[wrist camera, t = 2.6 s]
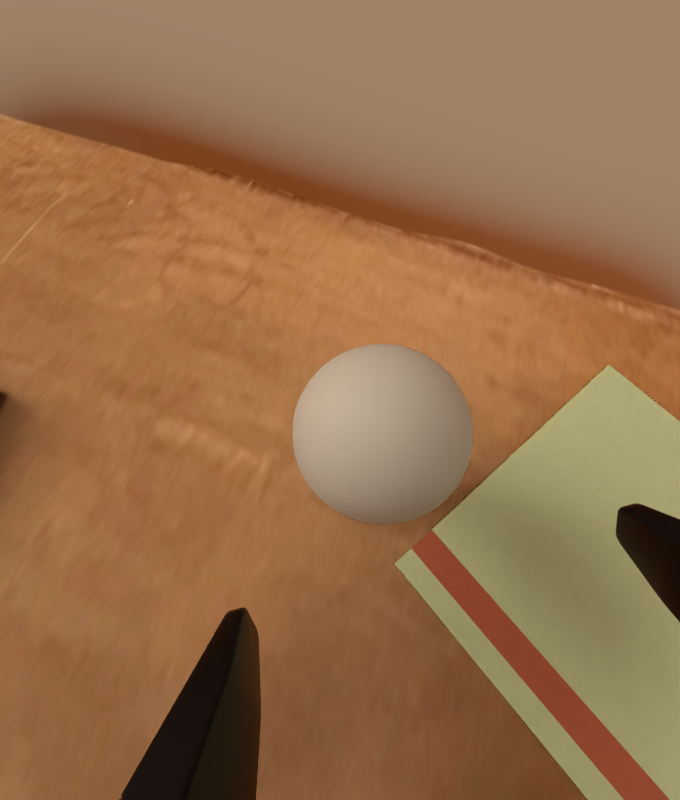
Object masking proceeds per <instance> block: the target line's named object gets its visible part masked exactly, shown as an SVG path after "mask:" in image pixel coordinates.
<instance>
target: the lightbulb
mask: <svg viewBox="0 0 680 800" xmlns="http://www.w3.org/2000/svg"><path fill="white" fill-rule="evenodd" d="M292 434H293V448H294V453H295V457H296V461H297V464H298V467H299V469H300V471H301V473H302V475H303V477H304V479H305V481H306V483H307V484H308V486H309V487H310V488H311V489H312V490H313V492H314V493H315V494H316V495H317V497H318V498H320V499H321V500H322V501H323V502H324V503H326V504H327V505H328V506H329V507H330V508H332V509H333V510H335V511H337V512H339V513H340V514H342V515H344V516H346V517H348V518H350V519H353V520H357V521H360V522H364V523H367V524H379V525H389V524H398V523H404V522H407V521H410V520H413V519H416V518H419V517H422V516H424V515H425V514H427V513H429V512H430V511H432V510H434V509H435V508H437V507H439V506H440V505H441V504H442V503H443V502H444V501H445V500H446V499H447V498H448V497H449V496H450V495H452V493H453V492H454V491H455V489H456V488H457V486H458V485H459V483H460V482H461V480H462V479H463V477H464V474H465V472H466V469H467V467H468V465H469V462H470V456H471V451H472V446H473V422H472V418H471V414H470V409H469V406H468V404H467V402H466V399H465V397H464V395H463V393H462V391H461V389H460V387H459V386H458V384H457V383H456V382H455V380H454V379H453V378H452V376H451V375H450V374H449V373H448V372H447V371H446V370H445V369H444V368H443V367H442V366H441V365H440V364H439V363H437V362H436V361H434V360H433V359H431V358H430V357H428V356H427V355H425V354H423V353H420V352H418V351H416V350H413V349H411V348H407V347H403V346H398V345H394V344H373V345H366V346H360V347H357V348H354V349H351V350H348V351H346V352H344V353H342V354H340V355H338V356H336V357H334V358H333V359H331V360H330V361H329V362H328V363H326V364H325V365H324V366H323V367H321V368H320V369H319V370H318V372H317V373H316V374H315V375H314V376H313V377H312V379H311V380H310V381H309V382H308V384H307V386H306V387H305V389H304V391H303V393H302V394H301V396H300V398H299V401H298V404H297V407H296V410H295V413H294V421H293V429H292Z"/></svg>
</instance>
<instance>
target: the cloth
mask: <svg viewBox="0 0 680 800" xmlns="http://www.w3.org/2000/svg"><path fill="white" fill-rule="evenodd" d="M635 503H638V504H642V505H645V506H647V507H650V508H652V509H655V510H657V511H660V512H662V513H665V514H668V515H670V516H673V517H675V518H678V519H680V421H679V420H677V419H676V418H675V417H674V416H672V415H671V414H670V413H669V412H667V411H666V410H665V409H664V408H663V407H661V406H660V405H659V404H658V403H656V402H655V401H654V400H653V399H651V398H650V397H649V396H648V395H646V394H645V393H644V392H643V391H641V390H640V389H639V388H638V387H636V386H635V385H634V384H633V383H631V382H630V381H629V380H628V379H626V378H625V377H624V376H623V375H621V374H620V373H619V372H618V371H616V370H615V369H614V368H613V367H611V366H610V365H608V366H607V367H605V368H604V369H603V370H602V371H601V372H600V373H599V374H598V375H597V376H596V377H595V378H594V379H593V380H591V381H590V382H589V383H588V384H587V385H586V386H585V387H584V388H583V389H582V390H581V391H580V392H579V393H577V394H576V395H575V396H574V397H573V398H572V399H571V400H570V401H569V402H568V403H567V404H566V405H565V406H564V407H562V408H561V409H560V410H559V411H558V412H557V413H556V414H555V415H554V416H553V417H552V418H551V419H550V420H548V421H547V422H546V423H545V424H544V425H543V426H542V427H541V428H540V429H539V430H538V431H537V432H536V433H534V434H533V435H532V436H531V437H530V438H529V439H528V440H527V441H526V442H525V443H524V444H523V445H522V446H520V447H519V448H518V449H517V450H516V451H515V452H514V453H513V454H512V455H511V456H510V457H509V458H508V459H506V460H505V461H504V462H503V463H502V464H501V465H500V466H499V467H498V468H497V469H496V470H495V471H494V472H492V473H491V474H490V475H489V476H488V477H487V478H486V479H485V480H484V481H483V482H482V483H481V484H480V485H479V486H477V487H476V488H475V489H474V490H473V491H472V492H471V493H470V494H469V495H468V496H467V497H466V498H465V499H463V500H462V501H461V502H460V503H459V504H458V505H457V506H456V507H455V508H454V509H453V510H452V511H451V512H449V513H448V514H447V515H446V516H445V517H444V518H443V519H442V520H441V521H440V522H439V523H438V524H437V525H435V526H434V527H433V528H432V529H431V530H430V531H429V532H428V533H427V534H426V535H425V536H424V537H423V538H421V539H420V540H419V541H418V542H417V543H416V544H415V545H414V546H413V547H412V548H411V549H410V550H409V551H407V552H406V553H405V554H404V555H403V556H402V557H401V558H400V559H399V560H398V561H397V562H396V563H395V565H396V566H397V567H398V569H399V570H400V571H401V572H402V573H403V575H404V576H405V577H406V578H407V580H408V581H409V582H410V583H411V584H412V586H413V587H414V588H415V589H416V590H417V592H418V593H419V594H420V595H421V597H422V598H423V599H424V600H425V601H426V603H427V604H428V605H429V606H430V608H431V609H432V610H433V611H434V612H435V614H436V615H437V616H438V617H439V619H440V620H441V621H442V622H443V623H444V625H445V626H446V627H447V628H448V630H449V631H450V632H451V633H452V634H453V636H454V637H455V638H456V639H457V641H458V642H459V643H460V644H461V645H462V647H463V648H464V649H465V650H466V652H467V653H468V654H469V655H470V656H471V658H472V659H473V660H474V661H475V663H476V664H477V665H478V666H479V667H480V669H481V670H482V671H483V672H484V674H485V675H486V676H487V677H488V678H489V680H490V681H491V682H492V683H493V685H494V686H495V687H496V688H497V689H498V691H499V692H500V693H501V694H502V696H503V697H504V698H505V699H506V700H507V702H508V703H509V704H510V705H511V707H512V708H513V709H514V710H515V711H516V713H517V714H518V715H519V716H520V718H521V719H522V720H523V721H524V722H525V724H526V725H527V726H528V727H529V729H530V730H531V731H532V732H533V733H534V735H535V736H536V737H537V738H538V740H539V741H540V742H541V743H542V744H543V746H544V747H545V748H546V749H547V751H548V752H549V753H550V754H551V755H552V757H553V758H554V759H555V760H556V762H557V763H558V764H559V765H560V766H561V768H562V769H563V770H564V771H565V773H566V774H567V775H568V776H569V777H570V779H571V780H572V781H573V782H574V784H575V785H576V786H577V787H578V788H579V790H580V791H581V792H582V793H583V795H584V796H585V797H586V798H587V799H588V800H680V622H679V621H678V620H677V619H676V617H675V616H674V615H673V614H672V613H671V612H670V610H669V609H668V608H667V607H666V606H665V604H664V603H663V602H662V601H661V599H660V598H659V597H658V595H657V594H656V593H655V591H654V590H653V588H652V587H651V586H650V584H649V583H648V582H647V580H646V579H645V577H644V576H643V575H642V573H641V572H640V571H639V569H638V568H637V566H636V565H635V564H634V562H633V561H632V560H631V558H630V557H629V555H628V554H627V553H626V551H625V550H624V549H623V547H622V546H621V544H620V543H619V541H618V539H617V537H616V522H617V513H618V510H619V508H620V507H623V506H626V505H630V504H635Z"/></svg>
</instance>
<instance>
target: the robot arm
mask: <svg viewBox="0 0 680 800" xmlns="http://www.w3.org/2000/svg"><path fill="white" fill-rule="evenodd" d="M616 537H617V539H618V541H619V543H620V544H621V546H622V547H623V549H624V550H625V551H626V553H627V554H628V555H629V557H630V558H631V560H632V561H633V562H634V564H635V565H636V566H637V568H638V569H639V571H640V572H641V573H642V575H643V576H644V577H645V579H646V580H647V582H648V583H649V584H650V586H651V587H652V588H653V590H654V591H655V593H656V594H657V595H658V597H659V598H660V599H661V601H662V602H663V603H664V604H665V606H666V607H667V608H668V609H669V610H670V612H671V613H672V614H673V615H674V616H675V617H676V619H677V620H678V621H679V622H680V519H678V518H675V517H673V516H670V515H668V514H665V513H662V512H660V511H657V510H655V509H652V508H650V507H647V506H645V505H642V504H638V503H635V504H630V505H626V506H623V507H620V508H619V510H618V513H617V522H616ZM260 723H261V694H260V664H259V638H258V632H257V629H256V626H255V624H254V622H253V621H252V619H251V617H250V615H249V613H248V611H247V609H246V608H239V609H235V610H231V611H229V612H228V613H227V614H226V615H225V616H224V618H223V620H222V622H221V623H220V625H219V627H218V629H217V630H216V632H215V634H214V635H213V637H212V639H211V641H210V642H209V644H208V646H207V648H206V649H205V651H204V653H203V654H202V656H201V658H200V660H199V661H198V663H197V665H196V667H195V668H194V670H193V672H192V674H191V675H190V677H189V679H188V680H187V682H186V684H185V686H184V687H183V689H182V691H181V693H180V694H179V696H178V698H177V699H176V701H175V703H174V705H173V706H172V708H171V710H170V712H169V713H168V715H167V717H166V718H165V720H164V722H163V724H162V725H161V727H160V729H159V731H158V732H157V734H156V736H155V738H154V739H153V741H152V743H151V744H150V746H149V748H148V750H147V751H146V753H145V755H144V757H143V758H142V760H141V762H140V763H139V765H138V767H137V769H136V770H135V772H134V774H133V776H132V777H131V779H130V781H129V783H128V784H127V786H126V788H125V789H124V791H123V793H122V799H119V800H256V788H257V772H258V756H259V740H260Z"/></svg>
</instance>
